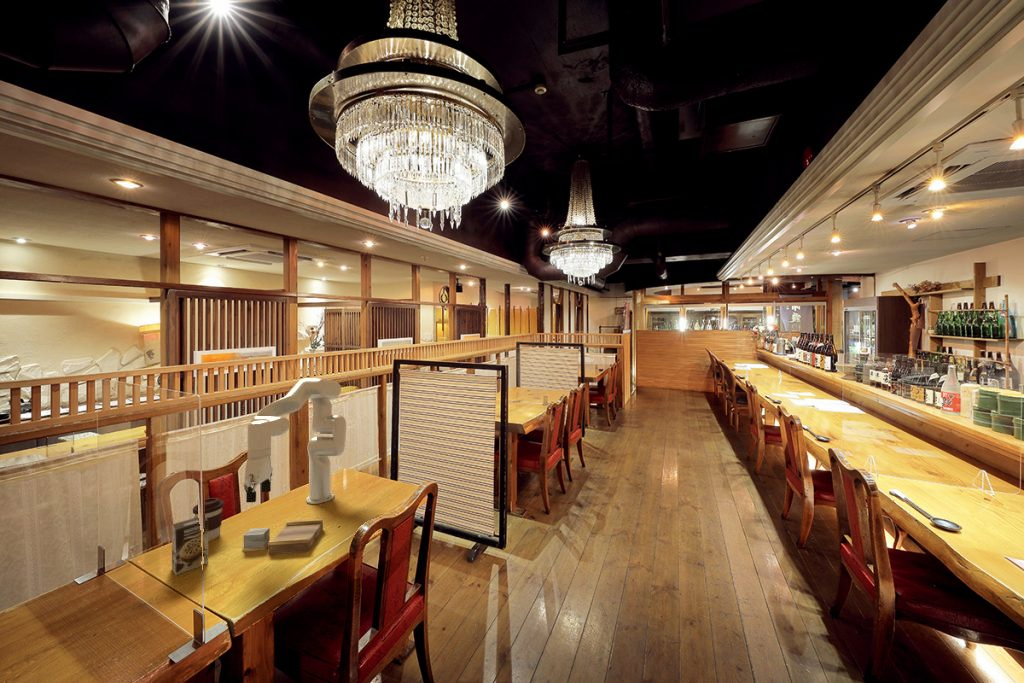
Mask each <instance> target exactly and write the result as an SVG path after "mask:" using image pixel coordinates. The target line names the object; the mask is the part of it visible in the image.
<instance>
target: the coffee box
mask: <svg viewBox="0 0 1024 683" xmlns="http://www.w3.org/2000/svg"><path fill="white" fill-rule="evenodd" d="M203 557H204V564H205V565H207V564H209V541H208V519H207V518H206V517H205V528H204V532H203ZM201 561H202V547H201V530H200V524H199V518H198V517H196V518H194V517H192V518H190V519H187V520H183V521H179V522H176V523H173V524H172V525H171V570H172V571H173V572H172V573H173V574H174V573H175V574H174V575H175V576H178V575H177V574H179V575H181V574H180V573H182V574H184V573H186V572H185V571H187V572H189V571H192V570H194V569H193V568H195V569H197V568H200V567H202V566H201ZM191 569H192V570H191ZM188 570H189V571H188ZM183 572H184V573H183Z"/></svg>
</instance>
